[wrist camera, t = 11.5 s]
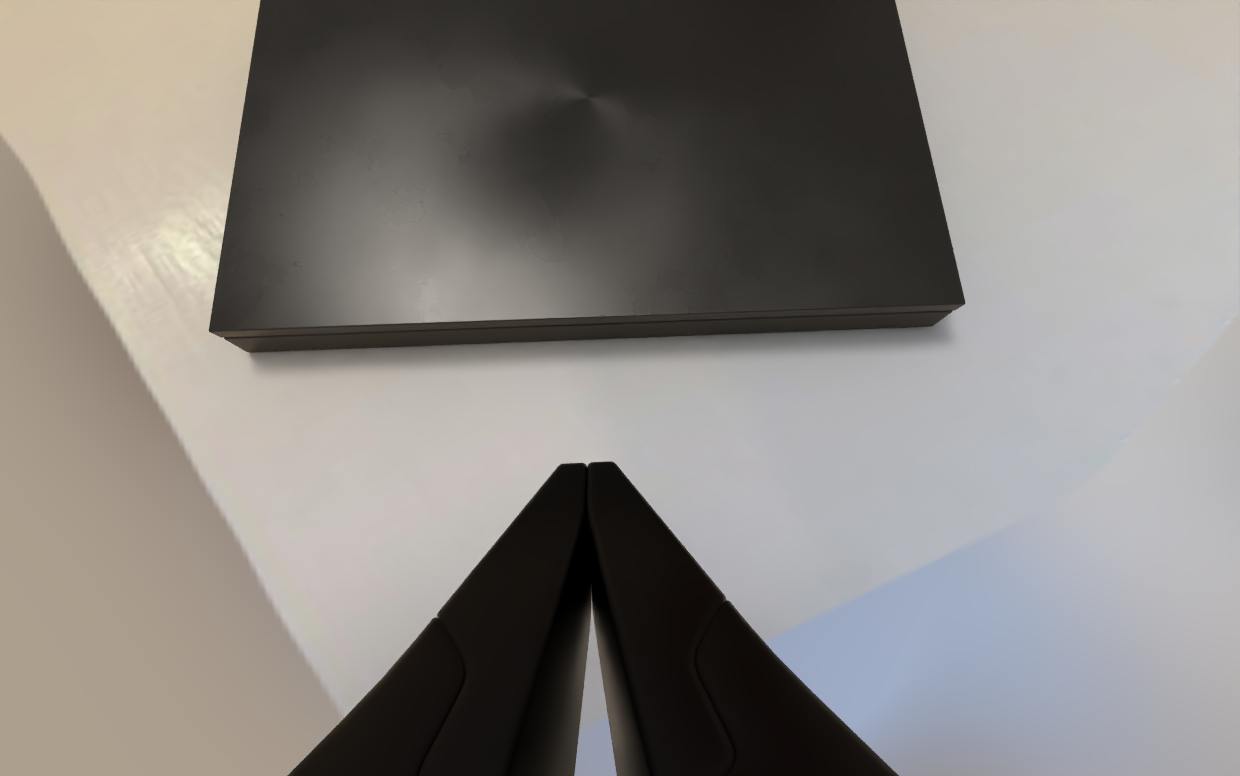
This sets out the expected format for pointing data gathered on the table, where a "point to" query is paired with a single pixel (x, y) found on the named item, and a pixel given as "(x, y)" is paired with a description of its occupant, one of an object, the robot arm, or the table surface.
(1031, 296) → the table surface
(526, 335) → the laptop
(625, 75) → the laptop screen
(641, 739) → the robot arm
